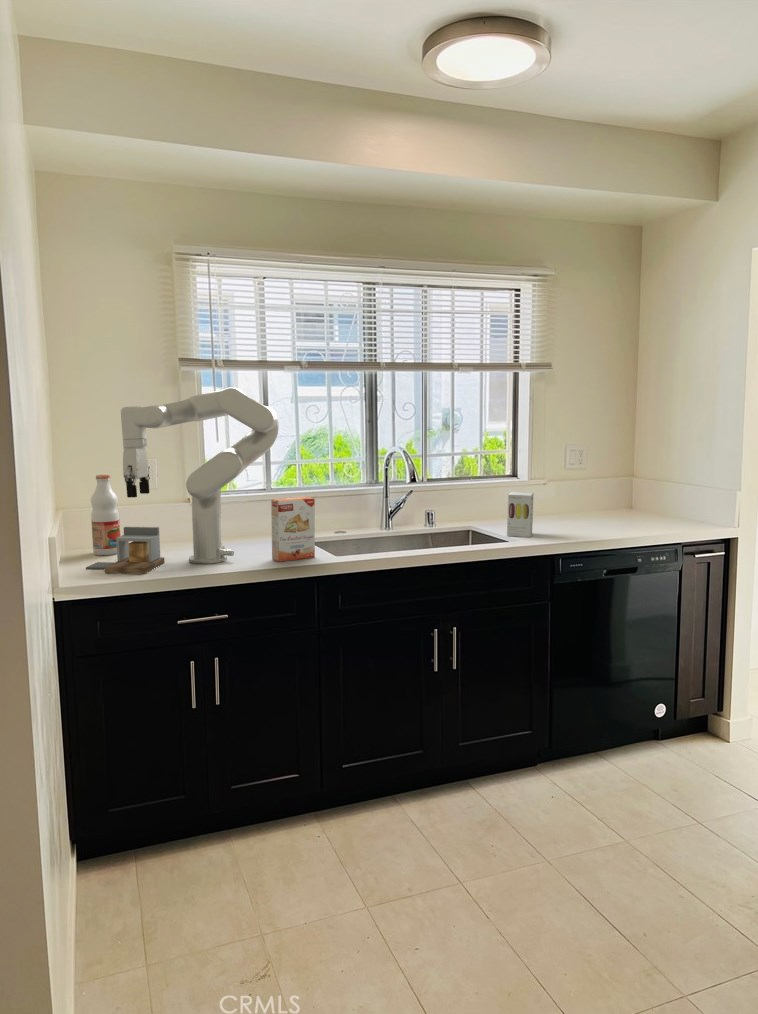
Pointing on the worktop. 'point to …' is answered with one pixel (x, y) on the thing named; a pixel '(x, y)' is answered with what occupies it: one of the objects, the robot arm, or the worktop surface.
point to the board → (133, 566)
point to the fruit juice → (104, 517)
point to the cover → (139, 535)
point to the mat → (99, 565)
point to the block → (139, 551)
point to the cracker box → (293, 528)
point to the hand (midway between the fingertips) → (138, 495)
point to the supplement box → (520, 514)
